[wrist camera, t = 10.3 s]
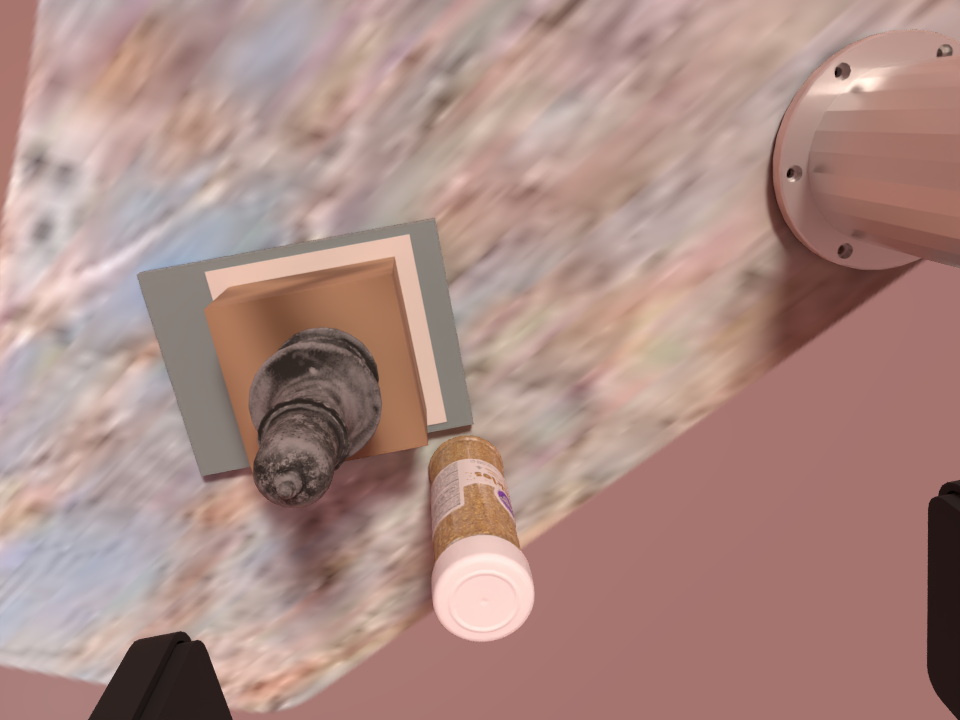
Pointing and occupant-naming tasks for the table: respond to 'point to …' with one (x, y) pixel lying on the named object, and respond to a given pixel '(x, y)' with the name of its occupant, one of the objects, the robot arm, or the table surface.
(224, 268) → the grey flat slab
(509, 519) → the sprinkles bottle
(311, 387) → the dark grey chess piece
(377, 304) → the walnut block
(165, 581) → the table surface
